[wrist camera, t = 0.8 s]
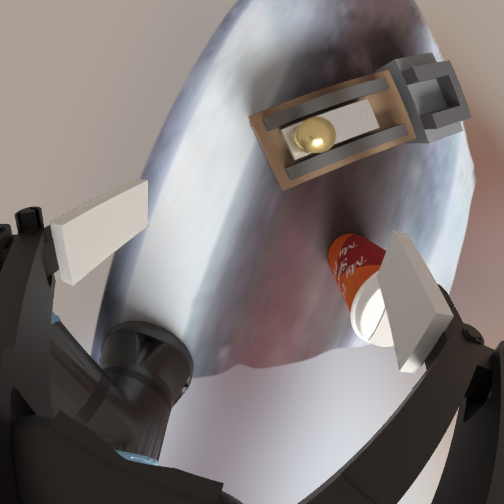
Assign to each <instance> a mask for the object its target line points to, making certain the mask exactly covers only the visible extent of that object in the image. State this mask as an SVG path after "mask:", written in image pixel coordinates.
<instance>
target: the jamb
mask: <svg viewBox="0 0 504 504" xmlns="http://www.w3.org/2000/svg"><path fill="white" fill-rule="evenodd" d="M385 70H389V72H390V74H391V76H392V79H393V81H394V83H395V85H396V87H397V90H398V92H399V94H400V97H401V99H402V101H403V104H404V106H405V109H406V111H407V114H408V116H409V119H410V122H411V124H412V127H413V130H414V133H415V136H416V138H415V139H413V140H410V141H407V142H405V143H431V142H434V141H436V140H439V139H442V138H444V137H447V136H450V135H453V134H455V133H458V132H461V131H463V130H462V127H461V123H460V121H462V120H465V119H468V118H471V114H470V111H469V108H468V105H467V102H466V100H465V97H464V94H463V91H462V89H461V86H460V84H459V81H458V79H457V76H456V74H455V71H454V69H453V67H452V65H451V63H450V61H442V62H436V59H435V57H434V55H433V53H427V54H420V55H415V56H409V57H404V58H399V59H395V60H393V61H391V62H389V63H388V64H386V65H384V66H383V67H381V68H379V69H378V70H376V71H374V72H375V73H377V72H381V71H385Z"/></svg>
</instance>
